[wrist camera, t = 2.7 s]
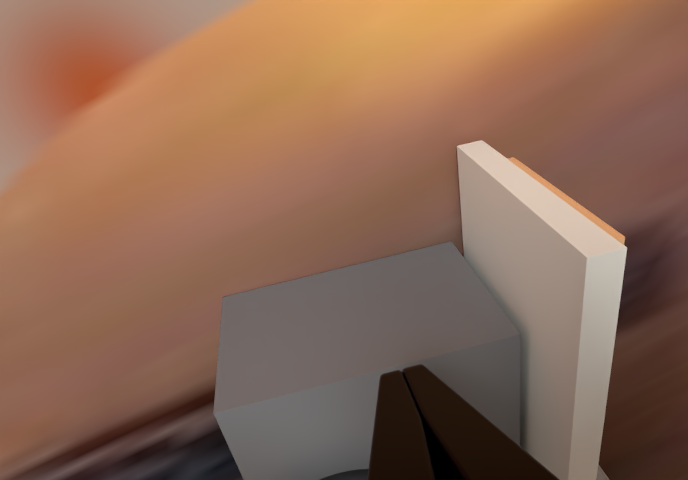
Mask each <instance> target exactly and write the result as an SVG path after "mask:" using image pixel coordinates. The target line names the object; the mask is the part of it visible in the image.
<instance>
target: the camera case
mask: <svg viewBox="0 0 688 480" xmlns="http://www.w3.org/2000/svg"><path fill="white" fill-rule="evenodd" d="M418 364H422V365H424V366H425V367H427V368H428V369H429V370H430V371H431V372H433V373H434V374H435V375H436V376H437V377H439V378H440V379H441V380H442V381H443V382H444V383H446V384H447V385H448V386H449V387H450V388H452V389H453V390H454V391H455V392H456V393H458V394H459V395H460V396H461V397H462V398H464V399H465V400H466V401H467V402H468V403H469V404H471V405H472V406H473V407H474V408H475V409H477V410H478V411H479V412H480V413H481V414H483V415H484V416H485V417H486V418H487V419H488V420H490V421H491V422H492V423H493V424H494V425H496V426H497V427H498V428H499V429H500V430H502V431H503V432H504V433H505V434H506V435H507V436H509V437H510V438H511V439H512V440H513V441H515V442H516V443H517V444H518V445H519V446H520V333H519V332H518V330H517V329H516V327H515V326H514V325H513V323H512V322H511V321H510V319H509V318H508V317H507V315H506V314H505V313H504V311H503V310H502V309H501V307H500V306H499V305H498V303H497V302H496V301H495V299H494V298H493V296H492V295H491V294H490V292H489V291H488V290H487V288H486V287H485V286H484V284H483V283H482V282H481V280H480V279H479V278H478V276H477V275H476V274H475V272H474V271H473V269H472V268H471V267H470V265H469V264H468V263H467V261H466V260H465V259H464V257H463V256H462V255H461V253H460V252H459V251H458V249H457V248H456V247H455V245H454V244H453V242H452V241H450V242H446V243H442V244H438V245H434V246H430V247H425V248H421V249H417V250H413V251H409V252H405V253H401V254H397V255H393V256H389V257H385V258H381V259H376V260H372V261H368V262H364V263H360V264H356V265H352V266H348V267H344V268H340V269H336V270H332V271H327V272H323V273H319V274H315V275H311V276H307V277H303V278H299V279H295V280H291V281H287V282H283V283H278V284H274V285H270V286H266V287H262V288H258V289H254V290H250V291H246V292H242V293H238V294H234V295H229V296H225V297H223V299H222V312H221V325H220V337H219V350H218V363H217V375H216V388H215V401H214V416H215V418H216V420H217V422H218V424H219V426H220V429H221V431H222V433H223V435H224V437H225V440H226V442H227V444H228V446H229V448H230V451H231V453H232V455H233V457H234V459H235V462H236V464H237V466H238V468H239V470H240V472H241V475H242V477H243V479H244V480H367V477H368V469H369V461H370V453H371V445H372V437H373V429H374V420H375V412H376V404H377V396H378V388H379V380H380V376H381V375H382V374H383V373H387V372H391V371H395V370H400V371H401V372H402V370H403V369H404V368H407V367H410V366H414V365H418Z"/></svg>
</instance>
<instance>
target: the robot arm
mask: <svg viewBox="0 0 688 480" xmlns="http://www.w3.org/2000/svg"><path fill="white" fill-rule="evenodd" d="M367 480H560V479H559V478H557V477H556V476H555V475H554V474H553V473H551V472H550V471H549V470H548V469H547V468H546V467H544V466H543V465H542V464H541V463H540V462H538V461H537V460H536V459H535V458H534V457H532V456H531V455H530V454H529V453H528V452H527V451H525V450H524V449H523V448H522V447H521V446H519V445H518V444H517V443H516V442H515V441H513V440H512V439H511V438H510V437H509V436H507V435H506V434H505V433H504V432H503V431H502V430H500V429H499V428H498V427H497V426H496V425H494V424H493V423H492V422H491V421H490V420H488V419H487V418H486V417H485V416H484V415H483V414H481V413H480V412H479V411H478V410H477V409H475V408H474V407H473V406H472V405H471V404H469V403H468V402H467V401H466V400H465V399H464V398H462V397H461V396H460V395H459V394H458V393H456V392H455V391H454V390H453V389H452V388H450V387H449V386H448V385H447V384H446V383H444V382H443V381H442V380H441V379H440V378H439V377H437V376H436V375H435V374H434V373H433V372H431V371H430V370H429V369H428V368H427V367H425V366H424V365H422V364H418V365H414V366H410V367H407V368H404V369H403V370H402V372H401V371H400V370H395V371H391V372H387V373H383V374H382V375H381V376H380V380H379V388H378V396H377V404H376V412H375V420H374V429H373V437H372V445H371V453H370V461H369V469H368V477H367Z"/></svg>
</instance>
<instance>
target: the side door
mask: <svg viewBox="0 0 688 480" xmlns="http://www.w3.org/2000/svg"><path fill="white" fill-rule="evenodd" d="M457 157H458V172H459V188H460V203H461V219H462V234H463V250H464V259H465V260H466V261H467V263H468V264H469V265H470V267H471V268H472V269H473V271H474V272H475V274H476V275H477V276H478V278H479V279H480V280H481V282H482V283H483V284H484V286H485V287H486V288H487V290H488V291H489V292H490V294H491V295H492V296H493V298H494V299H495V301H496V302H497V303H498V305H499V306H500V307H501V309H502V310H503V311H504V313H505V314H506V315H507V317H508V318H509V319H510V321H511V322H512V323H513V325H514V326H515V327H516V329H517V330H518V332H519V333H520V446H521V447H522V448H523V449H524V450H525V451H527V452H528V453H529V454H530V455H531V456H532V457H534V458H535V459H536V460H537V461H538V462H540V463H541V464H542V465H543V466H544V467H546V468H547V469H548V470H549V471H550V472H551V473H553V474H554V475H555V476H556V477H557V478H559V479H560V480H596V478H597V471H598V463H599V456H600V448H601V441H602V433H603V426H604V418H605V410H606V403H607V395H608V388H609V380H610V373H611V365H612V358H613V350H614V343H615V335H616V328H617V320H618V313H619V305H620V298H621V290H622V283H623V275H624V267H625V260H626V252H627V247H626V246H624V241H625V237H624V236H623V235H622V234H620V233H619V232H617V231H616V230H615V229H613V228H612V227H610V226H609V225H608V224H606V223H605V222H603V221H602V220H601V219H599V218H598V217H596V216H595V215H594V214H592V213H591V212H589V211H588V210H587V209H585V208H584V207H582V206H581V205H580V204H578V203H577V202H575V201H574V200H573V199H571V198H570V197H568V196H567V195H566V194H564V193H563V192H561V191H560V190H559V189H557V188H556V187H554V186H553V185H552V184H550V183H549V182H548V181H546V180H545V179H543V178H542V177H541V176H539V175H538V174H536V173H535V172H534V171H532V170H531V169H529V168H528V167H527V166H525V165H524V164H522V163H521V162H520V161H518V160H517V159H515V158H514V157H512V158H508V159H507V158H505V157H504V156H503V155H501V154H500V153H499V152H497V151H496V150H495V149H493V148H492V147H490V146H489V145H488V144H486V143H485V142H484V141H482V140H480V141H476V142H472V143H468V144H463V145H459V146H457Z"/></svg>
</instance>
